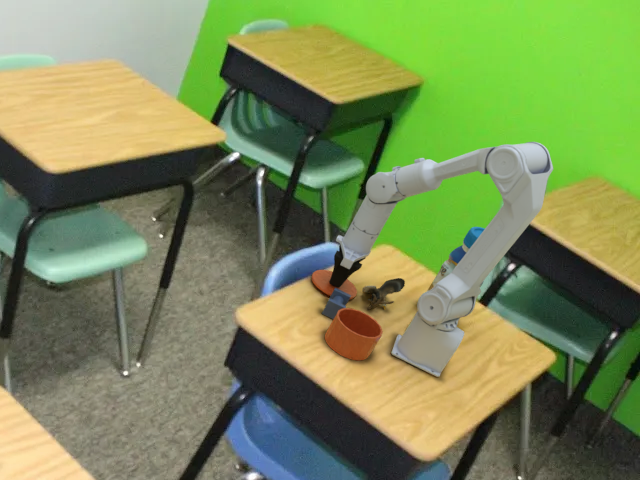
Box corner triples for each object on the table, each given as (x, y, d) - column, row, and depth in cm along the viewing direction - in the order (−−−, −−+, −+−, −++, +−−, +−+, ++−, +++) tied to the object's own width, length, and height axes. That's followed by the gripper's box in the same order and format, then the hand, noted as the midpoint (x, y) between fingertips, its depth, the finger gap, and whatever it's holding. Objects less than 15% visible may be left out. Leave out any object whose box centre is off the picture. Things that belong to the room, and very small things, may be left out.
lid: (358, 288, 194) (368, 271, 191) (349, 308, 187) (359, 290, 184) (315, 268, 196) (325, 250, 194) (305, 286, 189) (314, 269, 186)
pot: (372, 345, 178) (386, 323, 175) (364, 367, 171) (378, 344, 168) (330, 323, 180) (342, 302, 177) (320, 344, 173) (332, 322, 170)
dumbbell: (327, 300, 187) (335, 287, 185) (343, 308, 186) (351, 295, 184) (321, 313, 182) (328, 300, 180) (337, 321, 181) (345, 308, 179)
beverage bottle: (444, 331, 189) (497, 251, 177) (409, 308, 193) (459, 228, 181) (462, 321, 194) (514, 242, 183) (427, 298, 199) (477, 220, 187)
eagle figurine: (396, 319, 186) (409, 295, 191) (391, 289, 182) (404, 265, 188) (358, 318, 190) (371, 294, 196) (352, 288, 187) (366, 265, 193)
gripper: (354, 205, 189) (325, 259, 197) (339, 231, 178) (309, 287, 186) (387, 220, 188) (356, 274, 195) (374, 247, 176) (342, 303, 184)
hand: (335, 282), depth 191 cm, fingers open, 3 cm apart
